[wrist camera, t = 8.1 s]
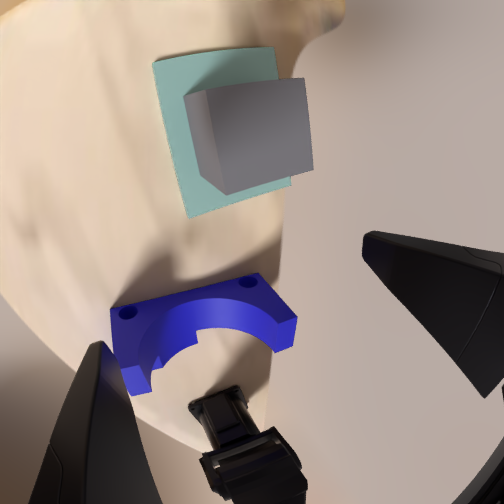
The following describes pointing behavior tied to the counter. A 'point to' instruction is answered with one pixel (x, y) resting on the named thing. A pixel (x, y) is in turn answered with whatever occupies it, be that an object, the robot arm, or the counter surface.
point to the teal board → (176, 122)
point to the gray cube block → (250, 133)
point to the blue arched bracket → (195, 324)
